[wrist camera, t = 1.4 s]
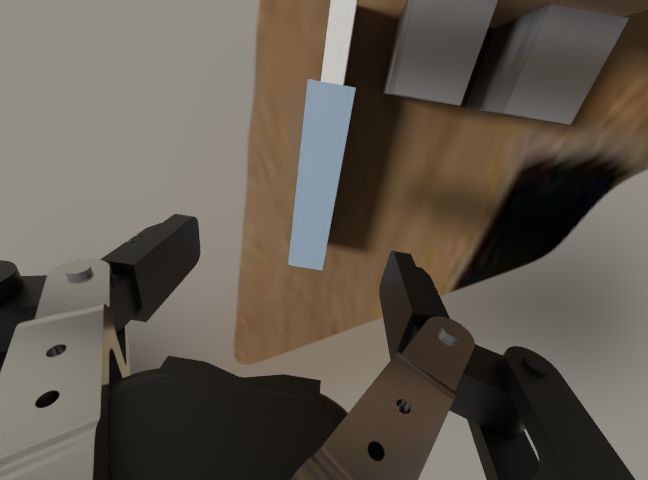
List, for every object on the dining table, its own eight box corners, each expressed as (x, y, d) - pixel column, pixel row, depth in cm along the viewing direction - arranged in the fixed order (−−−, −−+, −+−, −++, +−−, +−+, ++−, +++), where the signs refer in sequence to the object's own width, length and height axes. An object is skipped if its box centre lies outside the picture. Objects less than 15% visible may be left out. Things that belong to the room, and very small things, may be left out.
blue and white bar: (326, -1, 19) (319, -30, 14) (368, 6, 19) (375, -20, 14) (297, 237, 28) (288, 264, 23) (326, 242, 28) (322, 270, 24)
